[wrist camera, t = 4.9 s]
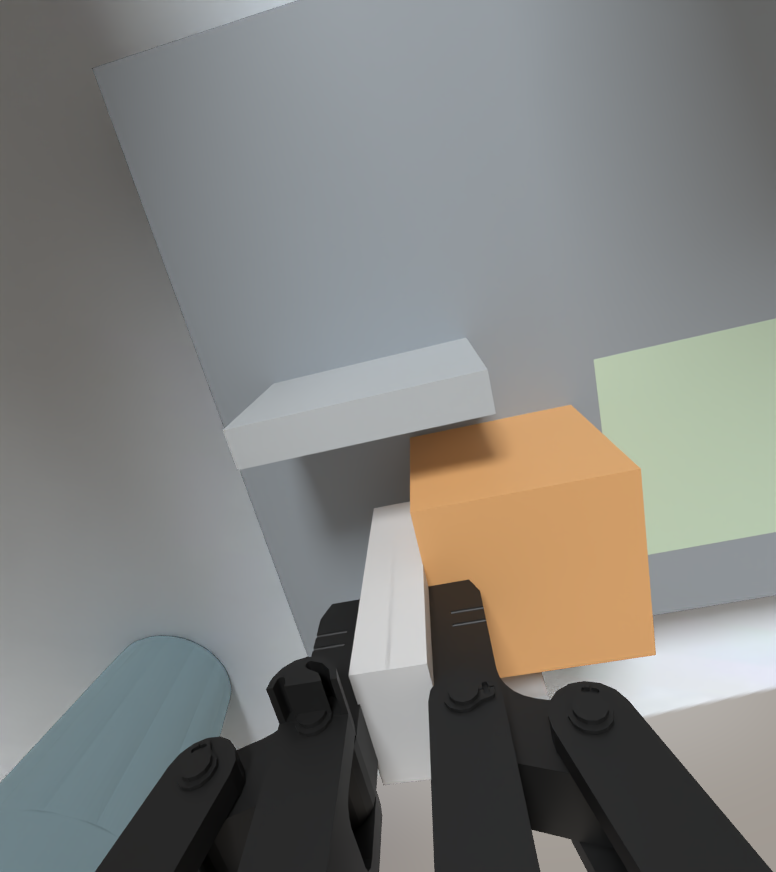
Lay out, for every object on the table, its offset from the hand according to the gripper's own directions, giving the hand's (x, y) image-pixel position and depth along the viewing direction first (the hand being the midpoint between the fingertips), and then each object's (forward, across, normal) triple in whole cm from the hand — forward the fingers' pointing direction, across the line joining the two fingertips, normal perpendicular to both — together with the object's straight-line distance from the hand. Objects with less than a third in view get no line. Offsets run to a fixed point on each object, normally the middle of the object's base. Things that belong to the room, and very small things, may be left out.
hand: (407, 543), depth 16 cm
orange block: (+2, +3, 0) cm, 4 cm away
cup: (+5, -13, -8) cm, 16 cm away
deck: (+5, +9, +4) cm, 11 cm away
